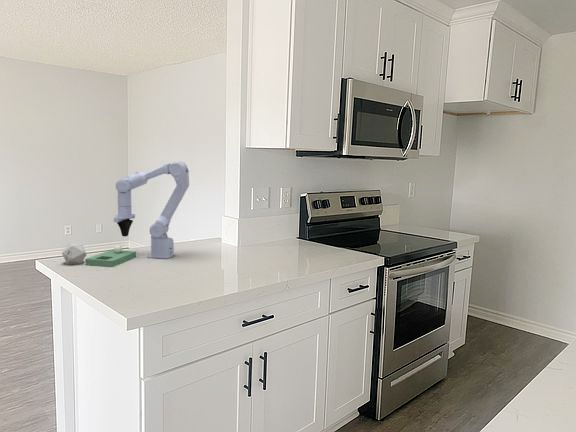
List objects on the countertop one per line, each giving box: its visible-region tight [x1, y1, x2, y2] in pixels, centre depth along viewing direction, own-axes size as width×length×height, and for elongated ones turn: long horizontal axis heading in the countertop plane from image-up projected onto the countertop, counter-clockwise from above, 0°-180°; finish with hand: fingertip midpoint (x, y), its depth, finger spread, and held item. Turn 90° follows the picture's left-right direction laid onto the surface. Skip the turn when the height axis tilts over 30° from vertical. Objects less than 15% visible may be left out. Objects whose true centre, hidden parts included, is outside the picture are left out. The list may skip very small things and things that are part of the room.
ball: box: [113, 244, 123, 253], centre depth 199 cm, size 4×4×4 cm
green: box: [84, 249, 137, 268], centre depth 195 cm, size 12×19×2 cm, turn 169°
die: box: [61, 243, 87, 265], centre depth 189 cm, size 8×9×10 cm
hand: (125, 236), depth 204 cm, fingers closed
